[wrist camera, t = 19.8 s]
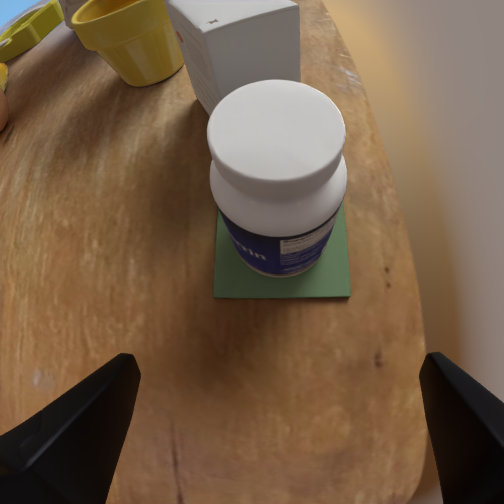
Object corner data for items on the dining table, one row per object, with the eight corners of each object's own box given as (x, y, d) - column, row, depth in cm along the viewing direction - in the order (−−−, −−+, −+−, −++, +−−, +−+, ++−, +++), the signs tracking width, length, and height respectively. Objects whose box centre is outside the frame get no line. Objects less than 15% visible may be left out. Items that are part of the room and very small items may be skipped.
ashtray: (23, 58, 35) (10, 40, 31) (-15, 68, 40) (-25, 55, 35) (78, 7, 40) (70, -10, 35) (30, 23, 44) (23, 10, 39)
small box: (301, 128, 22) (304, 5, 12) (233, 157, 22) (202, 33, 12) (252, 73, 25) (238, -29, 15) (194, 97, 24) (161, -5, 14)
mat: (349, 297, 18) (350, 296, 17) (213, 298, 18) (212, 297, 18) (339, 178, 20) (339, 176, 20) (221, 181, 21) (220, 178, 21)
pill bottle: (217, 221, 20) (166, 110, 10) (293, 179, 20) (295, 54, 11) (265, 299, 18) (244, 230, 8) (345, 248, 18) (396, 144, 9)
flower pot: (110, 61, 29) (79, -1, 19) (195, 31, 29) (176, -38, 19) (106, 115, 25) (59, 40, 16) (211, 77, 25) (187, -13, 16)
